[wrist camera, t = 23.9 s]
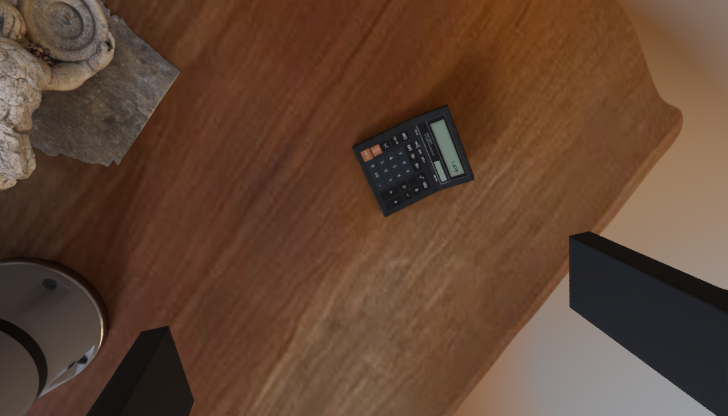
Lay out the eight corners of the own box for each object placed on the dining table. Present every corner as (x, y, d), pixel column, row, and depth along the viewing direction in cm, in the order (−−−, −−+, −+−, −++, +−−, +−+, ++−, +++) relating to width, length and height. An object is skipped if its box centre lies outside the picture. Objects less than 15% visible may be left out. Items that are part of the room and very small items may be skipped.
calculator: (352, 147, 46) (356, 150, 43) (440, 104, 46) (449, 104, 44) (383, 215, 49) (389, 222, 46) (466, 174, 49) (477, 178, 46)
